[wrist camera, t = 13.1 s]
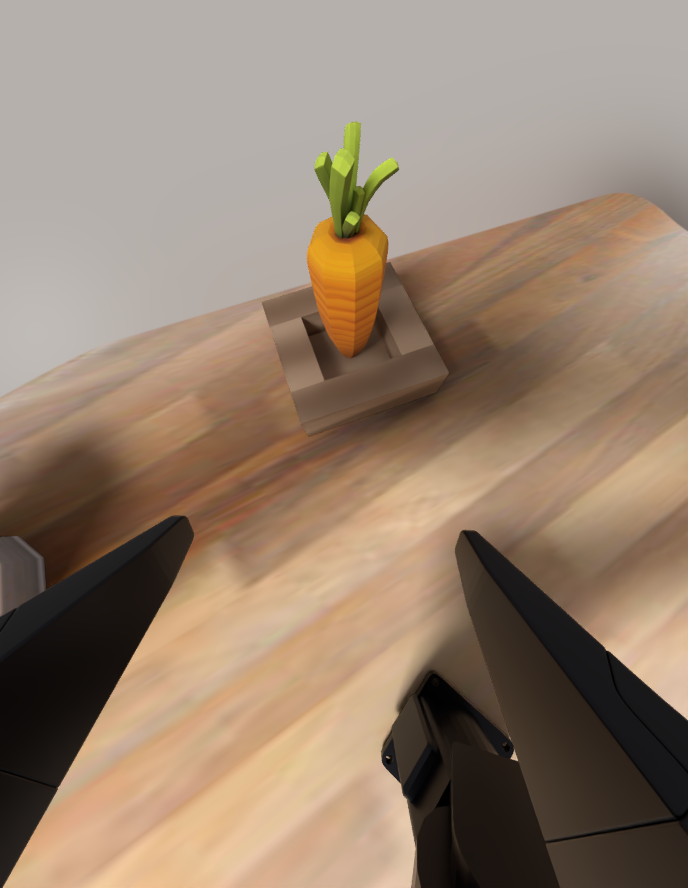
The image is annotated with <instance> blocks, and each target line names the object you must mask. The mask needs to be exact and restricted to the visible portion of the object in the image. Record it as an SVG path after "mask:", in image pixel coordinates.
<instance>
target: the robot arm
mask: <svg viewBox="0 0 688 888" xmlns="http://www.w3.org/2000/svg"><path fill="white" fill-rule="evenodd" d="M193 538H194V532H193V529H192V527H191V525H190V522H189V520H188V518H187V517H186V516H179V515H174V516H171V517H169V518H167V519H165V520H164V521H162V522H160V523H159V524H157V525H155V526H154V527H152V528H150V529H148V530H147V531H145V532H143V533H142V534H140V535H138V536H137V537H135V538H133V539H131V540H130V541H128V542H126V543H125V544H123V545H121V546H120V547H118V548H116V549H114V550H113V551H111V552H109V553H108V554H106V555H104V556H103V557H101V558H99V559H97V560H96V561H94V562H92V563H91V564H89V565H87V566H86V567H84V568H82V569H80V570H79V571H77V572H75V573H74V574H72V575H70V576H69V577H67V578H65V579H63V580H62V581H60V582H58V583H57V584H55V585H53V586H52V587H50V588H48V589H46V590H45V591H43V592H41V593H40V594H38V595H36V596H35V597H33V598H31V599H29V600H28V601H26V602H24V603H23V604H21V605H20V606H19V607H18V608H14V609H12V610H11V611H9V612H7V613H6V614H4V615H2V616H0V888H3V886H4V884H5V882H6V881H7V879H8V877H9V875H10V874H11V872H12V870H13V868H14V866H15V865H16V863H17V861H18V859H19V858H20V856H21V854H22V852H23V850H24V849H25V847H26V845H27V843H28V842H29V840H30V838H31V836H32V834H33V833H34V831H35V829H36V827H37V826H38V824H39V822H40V820H41V818H42V817H43V815H44V813H45V811H46V810H47V808H48V806H49V804H50V803H51V801H52V799H53V797H54V795H55V794H56V792H57V790H58V787H59V786H60V784H61V783H62V781H63V779H64V777H65V775H66V774H67V772H68V770H69V768H70V767H71V765H72V763H73V761H74V759H75V758H76V756H77V754H78V752H79V751H80V749H81V747H82V745H83V743H84V742H85V740H86V738H87V736H88V735H89V733H90V731H91V729H92V727H93V726H94V724H95V722H96V720H97V719H98V717H99V715H100V713H101V711H102V710H103V708H104V706H105V704H106V703H107V701H108V699H109V697H110V695H111V694H112V692H113V690H114V688H115V687H116V685H117V683H118V681H119V679H120V678H121V676H122V674H123V672H124V671H125V669H126V667H127V665H128V663H129V662H130V660H131V658H132V656H133V655H134V653H135V651H136V649H137V647H138V646H139V644H140V642H141V640H142V639H143V637H144V635H145V633H146V631H147V630H148V628H149V626H150V624H151V623H152V621H153V619H154V617H155V616H156V614H157V612H158V610H159V608H160V607H161V605H162V603H163V601H164V600H165V598H166V596H167V594H168V592H169V590H170V589H171V587H172V585H173V583H174V581H175V579H176V576H177V574H178V572H179V570H180V568H181V565H182V563H183V561H184V559H185V556H186V554H187V552H188V550H189V548H190V545H191V543H192V541H193ZM455 554H456V559H457V564H458V568H459V572H460V577H461V581H462V586H463V590H464V595H465V599H466V603H467V607H468V610H469V613H470V616H471V619H472V622H473V625H474V628H475V631H476V634H477V637H478V641H479V644H480V647H481V650H482V653H483V656H484V659H485V662H486V665H487V668H488V671H489V674H490V677H491V680H492V683H493V686H494V689H495V692H496V695H497V698H498V701H499V704H500V707H501V710H502V713H503V716H504V719H505V722H506V725H507V728H508V731H509V734H510V737H511V740H512V742H511V740H510V739H509V737H508V736H507V735H506V734H505V733H504V732H503V731H502V730H501V729H500V728H498V727H497V726H496V725H495V724H494V723H493V722H492V721H491V720H490V719H489V718H487V717H486V716H485V715H484V714H483V713H482V712H481V711H480V710H479V709H477V708H476V707H475V706H474V705H473V704H472V703H471V702H470V701H469V700H468V699H466V698H465V697H464V696H463V695H462V694H461V693H460V692H459V691H458V690H456V689H455V688H454V687H453V686H452V685H451V684H450V683H449V682H448V681H447V680H445V679H444V678H443V677H442V676H441V675H440V674H439V673H438V672H436V671H434V670H432V671H429V672H428V674H427V675H426V677H425V678H424V680H423V682H422V683H421V685H420V687H419V688H418V690H417V692H416V693H415V694H413V695H411V696H410V698H409V700H408V701H407V703H406V705H405V706H404V708H403V710H402V711H401V713H400V715H399V716H398V718H397V719H396V721H395V723H394V724H393V726H392V733H391V735H390V736H389V738H388V740H387V741H386V743H385V745H384V746H383V748H382V751H381V757H382V763H383V765H384V767H385V768H386V769H387V770H388V771H389V772H390V773H391V774H392V775H393V776H394V777H395V778H396V779H397V780H398V781H399V782H400V783H401V787H402V793H403V796H404V797H405V798H406V799H407V803H408V808H409V814H410V819H411V825H412V830H413V836H414V841H415V847H416V851H415V860H414V868H413V877H412V886H411V888H688V720H687V719H686V718H685V717H683V716H682V715H681V714H680V713H679V712H678V711H676V710H675V709H674V708H673V707H672V706H670V705H669V704H668V703H667V702H666V701H664V700H663V699H662V698H661V697H660V696H659V695H658V694H656V693H655V692H654V691H653V690H652V689H651V688H650V687H649V686H647V685H646V684H645V683H644V682H643V681H642V680H641V679H639V678H638V677H637V676H636V675H635V674H634V673H633V672H632V671H630V670H629V669H628V668H627V667H626V666H625V665H624V664H623V663H622V662H620V661H619V660H618V659H617V658H616V657H615V656H614V655H613V654H612V653H611V652H609V651H606V650H605V647H604V646H603V645H602V644H600V643H599V642H598V641H597V640H596V639H595V638H594V637H593V636H592V635H590V634H589V633H588V632H587V631H586V630H585V629H584V628H583V627H582V626H581V625H579V624H578V623H577V622H576V621H575V620H574V619H573V618H572V617H571V616H569V615H568V614H567V613H566V612H565V611H564V610H563V609H562V608H561V607H560V606H558V605H557V604H556V603H555V602H554V601H553V600H552V599H551V598H550V597H549V596H547V595H546V594H545V593H544V592H543V591H542V590H541V589H540V588H539V587H537V586H536V585H535V584H534V583H533V582H532V581H531V580H530V579H529V578H528V577H526V576H525V575H524V574H523V573H522V572H521V571H520V570H519V569H518V568H516V567H515V566H514V565H513V564H512V563H511V562H510V561H509V560H508V559H507V558H505V557H504V556H503V555H502V554H501V553H500V552H499V551H498V550H497V549H496V548H494V547H493V546H492V545H491V544H490V543H489V542H488V541H487V540H486V539H484V538H483V537H482V536H481V535H480V534H479V533H478V532H476V531H474V530H462V531H461V532H460V535H459V538H458V541H457V543H456V547H455ZM433 678H437V682H435V683H432V679H433ZM504 742H506V746H504V747H502V744H503V743H504ZM512 743H513V744H512ZM514 749H515V752H516V755H517V758H518V761H519V762H518V761H515V760H512V759H510V758H511V757H512V755H513V752H514ZM387 755H391V756H392V757H391V758H390V759H388V758H386V756H387Z"/></svg>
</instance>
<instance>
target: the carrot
mask: <svg viewBox="0 0 688 888" xmlns="http://www.w3.org/2000/svg"><path fill="white" fill-rule="evenodd" d="M360 128H361V123H359V122H351V123H349V124H347V125H346V127H345V134H344V149H342V148H341V149H340V150H339V151H338V152H337V154H336V155H335V158H334V161H333V163H332V161H331V159H330V156H329V154H328V152H322V153H321V154H320V155H319V156H318V158H317V160H316V162H315V172H316V174H317V176H318V179H319V181H320V183H321V185H322V187H323V189H324V190H325V192H326V194H327V196H328V199H329V201H330V205H331V211H332V217H330V218H328V219H326V220H324V221H322V222H320V223H319V224H318V225H317V226H316V227H315V230H314V233H313V236H312V239H311V242H310V245H309V247H308V252H307V263H308V268H309V273H310V277H311V282H312V287H313V291H314V295H315V299H316V303H317V307H318V311H319V314H320V316H321V319H322V321H323V324H324V326H325V329H326V331H327V333H328V335H329V337H330V339H331V340H332V341H333V343H334V344H335V345H336V347H337V348H338V350H339V351H340V352H341V354H342V355H344V356H345V357H346V358H353V357H355V356H356V355H357V354H358V353H359V352H361V351H362V349H363V348H364V346H365V345H366V344H367V341H368V339H369V336H370V334H371V331H372V328H373V325H374V322H375V318H376V314H377V309H378V305H379V301H380V295H381V290H382V285H383V279H384V273H385V266H386V260H387V253H388V239H387V236H386V234H385V233H384V232H383V231H382V230H381V229H380V228H379V227H378V226H377V225H376V224H375V223H374V222H373V221H372V220H371V219H370V218H369V217H368V215H364V212H365V210H366V207H367V205H368V202H369V201H370V199H371V198H372V196H373V195H374V193H375V192H376V190H377V189H378V188H379V187H380V185H381V184H382V183H383V182H384V181H385V180H387V179H388V178H389V177H391V176H392V175H393V174H395V173H396V172H397V171H398V170H399V167H398V164H397V162H396V161H395V160H394V159H393V158H390V159H388V160H387V161H385V162H383V163H382V164H381V165H380V166H379V167H377V168H376V169H375V170H374V171H373V172H372V174H371V175H370V177H369V179H368V180H367V182H366V184H365V186H364V188H362V187H361V186H357V187H356V181H357V170H358V160H359V148H360V147H359V146H360V130H361V129H360Z"/></svg>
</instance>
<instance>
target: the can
mask: <svg viewBox="0 0 688 888" xmlns="http://www.w3.org/2000/svg"><path fill="white" fill-rule="evenodd" d="M45 590H46V580H45V567H44V558H43V557H42V556H41V555H40V554H39V553H38V552H37V551H35V550H34V549H33V548H32V547H31V546H30V545H28V544H27V543H26V542H25V541H24V540H23V539H21V538H20V537H19V536H9V537H0V616H2V615H4V614H6V613H7V612H9V611H11V610H12V609H14V608H18V607H19V606H20V605H21V604H23V603H24V602H26V601H28V600H29V599H31V598H33V597H35V596H36V595H38V594H40V593H41V592H43V591H45Z"/></svg>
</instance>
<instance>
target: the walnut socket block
mask: <svg viewBox="0 0 688 888" xmlns="http://www.w3.org/2000/svg"><path fill="white" fill-rule="evenodd" d="M262 305H263V308H264V311H265V314H266V317H267V320H268V323H269V326H270V330H271V333H272V336H273V339H274V342H275V345H276V348H277V351H278V354H279V357H280V361H281V364H282V367H283V370H284V373H285V376H286V379H287V382H288V385H289V388H290V391H291V395H292V398H293V401H294V404H295V407H296V410H297V413H298V416H299V419H300V422H301V425H302V426H303V428H304V430H305V431H306V433H307V435H308V436H312V435H315V434H318V433H321V432H324V431H326V430H329V429H332V428H335V427H338V426H341V425H344V424H347V423H350V422H352V421H355V420H358V419H361V418H364V417H367V416H370V415H373V414H376V413H378V412H381V411H384V410H387V409H390V408H393V407H396V406H399V405H402V404H405V403H407V402H410V401H413V400H416V399H419V398H422V397H425V396H428V395H431V394H433V393H436V392H437V390H438V389H439V387H440V386H441V385H442V383H443V382H444V380H445V379H446V377H447V376H448V374H449V372H448V370H447V368H446V366H445V364H444V362H443V360H442V358H441V357H440V355H439V353H438V351H437V349H436V347H435V345H434V343H433V342H432V340H431V338H430V336H429V334H428V332H427V330H426V329H425V327H424V325H423V323H422V321H421V319H420V317H419V315H418V314H417V312H416V310H415V308H414V306H413V304H412V302H411V300H410V299H409V297H408V295H407V293H406V291H405V289H404V287H403V285H402V284H401V282H400V280H399V278H398V276H397V274H396V272H395V270H394V269H393V267H392V265H391V263H390V262H389V263H386V266H385V273H384V279H383V285H382V290H381V295H380V301H379V305H378V309H377V314H376V318H375V322H374V325H373V328H372V331H371V334H370V336H369V339H368V341H367V344H366V345H365V346H364V348H363V349H362V351H361V352H359V353H358V354H357V355H356V356H355V357H353V358H346V357H345V356H344V355H342V354H341V352H340V351H339V350H338V348H337V347H336V345H335V344H334V343H333V341H332V340H331V339H330V337H329V335H328V333H327V331H326V329H325V326H324V324H323V321H322V319H321V316H320V314H319V311H318V307H317V303H316V299H315V295H314V291H313V287H309V288H306V289H302V290H299V291H296V292H293V293H290V294H286V295H283V296H280V297H277V298H274V299H270V300H267V301H264V302H262Z"/></svg>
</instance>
